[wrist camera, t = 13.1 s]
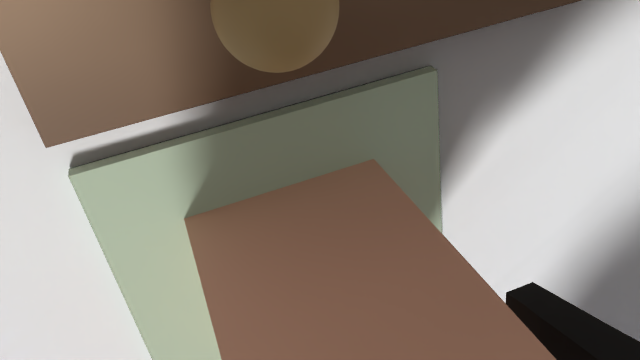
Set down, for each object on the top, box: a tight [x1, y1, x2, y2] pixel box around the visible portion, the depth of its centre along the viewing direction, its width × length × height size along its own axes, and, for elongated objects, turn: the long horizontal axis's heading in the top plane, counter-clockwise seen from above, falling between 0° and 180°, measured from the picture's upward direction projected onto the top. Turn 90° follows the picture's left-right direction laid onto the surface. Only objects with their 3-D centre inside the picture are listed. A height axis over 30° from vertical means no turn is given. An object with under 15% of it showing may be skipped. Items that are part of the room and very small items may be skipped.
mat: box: [68, 66, 442, 360], centre depth 14 cm, size 8×8×1 cm
